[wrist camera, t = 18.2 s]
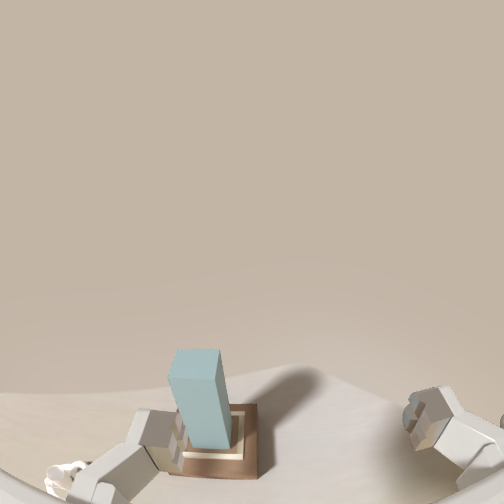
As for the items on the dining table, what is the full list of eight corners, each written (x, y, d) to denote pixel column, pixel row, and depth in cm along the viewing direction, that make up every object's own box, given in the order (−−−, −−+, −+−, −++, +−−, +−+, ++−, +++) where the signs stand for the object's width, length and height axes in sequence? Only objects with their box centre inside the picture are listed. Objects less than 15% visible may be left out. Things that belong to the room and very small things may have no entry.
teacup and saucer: (90, 460, 32) (79, 446, 30) (101, 501, 25) (88, 490, 24) (45, 469, 28) (32, 455, 26) (51, 509, 21) (36, 497, 20)
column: (232, 421, 38) (219, 349, 33) (230, 449, 33) (214, 379, 28) (198, 421, 38) (177, 348, 33) (193, 447, 33) (167, 377, 28)
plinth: (257, 415, 42) (256, 402, 41) (257, 479, 31) (256, 469, 30) (183, 414, 43) (178, 401, 41) (169, 474, 31) (162, 463, 30)
